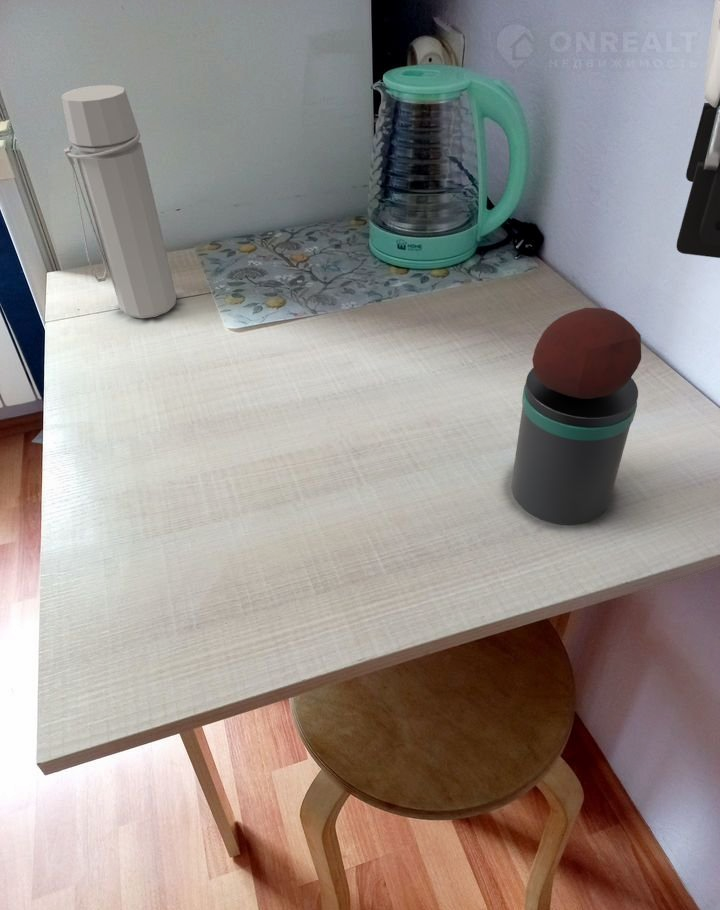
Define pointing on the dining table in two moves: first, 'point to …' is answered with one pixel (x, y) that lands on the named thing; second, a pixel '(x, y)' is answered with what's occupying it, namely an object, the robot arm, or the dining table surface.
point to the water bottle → (119, 198)
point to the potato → (587, 353)
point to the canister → (570, 451)
